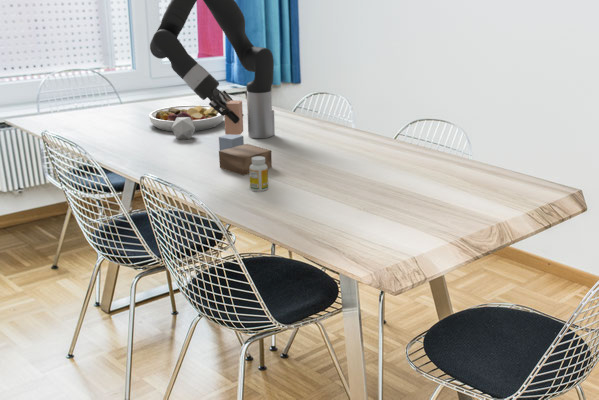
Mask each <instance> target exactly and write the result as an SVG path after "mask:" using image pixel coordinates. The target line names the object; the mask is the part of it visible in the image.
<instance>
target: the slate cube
mask: <svg viewBox="0 0 599 400" xmlns="http://www.w3.org/2000/svg"><path fill="white" fill-rule="evenodd" d="M244 143H245V142H244V135H243V134H240V135H230V134H223V135H220V136H218V145H219V146H218V147H219V151H220V150H224V149H228V148H232V147H236V146H240V145H244Z"/></svg>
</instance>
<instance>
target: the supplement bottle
mask: <svg viewBox="0 0 599 400" xmlns="http://www.w3.org/2000/svg"><path fill="white" fill-rule="evenodd" d="M252 163H253V164H251V165H250V168H249V169H250V174H249V189H250V190H251V191H253V192H258V193H259V192H265V191H267V190H268V189H269V180H268V179H269V175H268V172H269V171H268V169H269V168H268V167H267V165H266V164H264V163H265V157H262V156H255V157H252Z"/></svg>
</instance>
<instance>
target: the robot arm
mask: <svg viewBox="0 0 599 400" xmlns="http://www.w3.org/2000/svg"><path fill="white" fill-rule="evenodd" d="M197 1H198V0H170V2H169V4H168V6H167V7H166V9H165V11H164V13H163V16H162V19H161V22H160V24H159V26H158V28H157V30H156V31H155V33H154V34H153V37H152V39H151V41H150V44H149V50H150V53H151V54H152V55H153V57H154V58H157V59H160V60H161V59H165V58H167V59H168V61H169V62H170V65H171V66H170V67H171V69H172V70H173V71H174V73H175V74H177V75H178V77H180V78H181V79H182V80H183V81H184V83H185V84H186V85H187V86H188V87H189V88H190V89H191V90H192V91H193V92H194V93H195V94H196V95H197V96H198V97H199V98H200V99H201V100H203V101H206V99H207V98H208V99H209V101H210V102H209V103H208V106H211V107H212V108H214V109H215V110H216V111H217V112H219V113H220V114H221V115H222V116H224V115H225V116H227V117H228V118H229V119H230V120H231V121H233V122H234V123H235V124H236V123H237V122H238V121H239V120H240V118H239V117H238V116H237V115H236V114H235V113H234V112H233V111H231V109H230V108H229V107H228V106H227V102H226V101H227V100H228V101H231V100H234V99H233V98H232V97H231V96H230V95H229V94H228V92H227V91H226V90H222V91H221V90H220V89H218V87H219V86H220V83H219V81H218V80H217V79H216V78H215V77H214V76H213V75H212V74H211V73H209V71H208V70H206V68H204V67H203V65H201V64H200V63H198V62H197V61H196V59H194V57H192V56H191V55H190V54H189V53H188V51H187V50H186V48H185V47H184V45H183V44H182V43H181V41H180V39H179V38H178V36H179V34H180V33H181V32H182V30H183V28H184V26H185V24H186V23H187V20H188V18H189V16H190V14H191V11H192V10H193V7H194V6H195V4H196V3H197ZM202 1H203V2H204V4H205V5H206V7H207V9H208V10H209V12H210V13H211V15H212V17H213V18H214V20H215V22H217V24H218V26H219V27H220V29H221V30H222V32H223V33H224V35H225V36H226V38H227V40H228V42H229V43H230V44H231V46H232V48H233V50H234V52H235V54H236V56H237V58H238V61H239V62H240V64H241V66H242V68H244V69H245V70H246V71H247V72H251V73H252V72H253V73H254V79H253V80H252V81H249V82H247V84H246V106H247V107H246V109H247V129H248V130H247V133H248V134H247V136H248V137H250V138H252V139H267V138H271V137H273V136H275V135H276V133H275V132H276V129H275V126H276V125H275V110H274V109H273V100H272V86H273V83H274V67H275V66H274V55H273V53H272V51H271V50H270V49H269V48H268V47H262V46H255V45H254V44H253V43H252V41H251V40H250V39H249V37H248V36H247V34H246V20H245V16H244V13H243V12H242V10H241V8H240V6H239V5H238V3H237V1H235V0H202ZM243 117H244V114H243Z"/></svg>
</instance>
